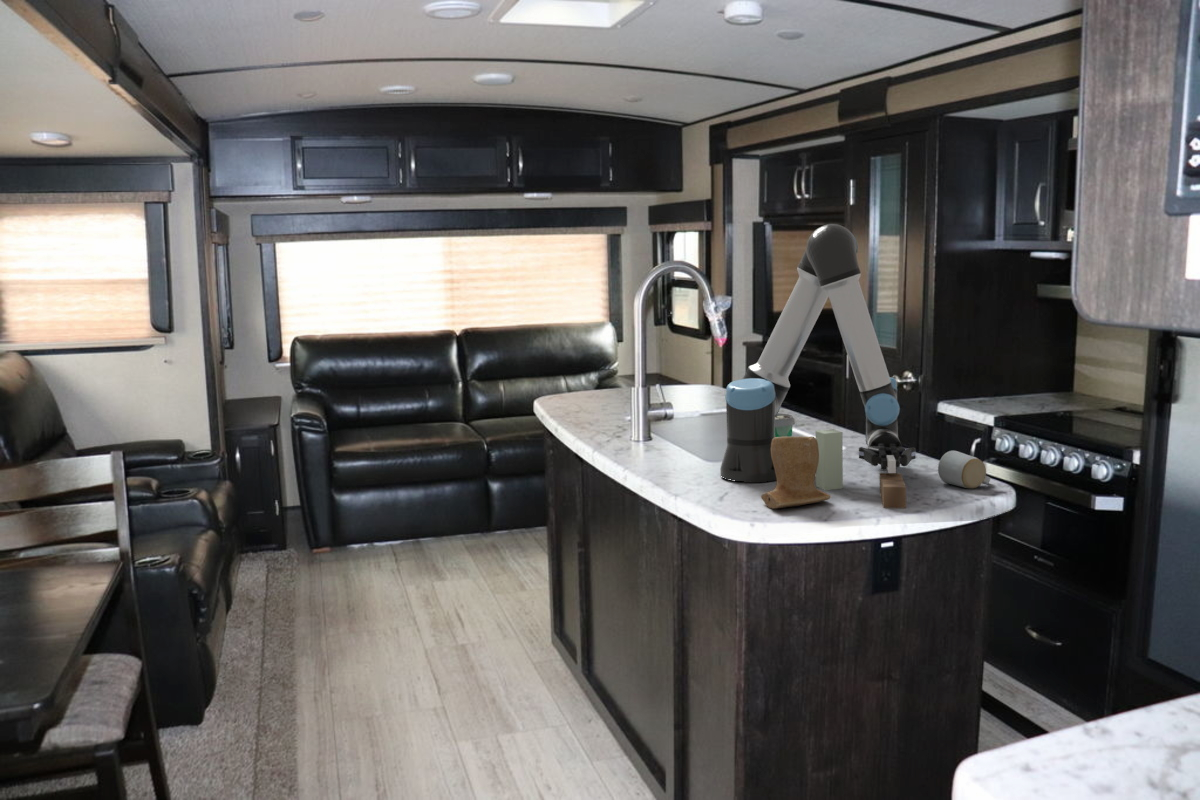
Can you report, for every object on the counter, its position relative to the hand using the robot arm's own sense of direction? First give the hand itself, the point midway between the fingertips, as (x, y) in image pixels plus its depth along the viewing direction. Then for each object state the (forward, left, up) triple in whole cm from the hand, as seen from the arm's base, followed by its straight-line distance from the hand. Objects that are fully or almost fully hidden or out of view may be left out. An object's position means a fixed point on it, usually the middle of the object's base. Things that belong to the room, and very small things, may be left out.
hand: (892, 466), depth 211 cm
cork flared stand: (-22, 0, -7) cm, 23 cm away
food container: (-10, +59, -7) cm, 60 cm away
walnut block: (+1, +6, -5) cm, 8 cm away
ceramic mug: (+20, +10, -7) cm, 24 cm away
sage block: (-10, +14, -7) cm, 18 cm away
